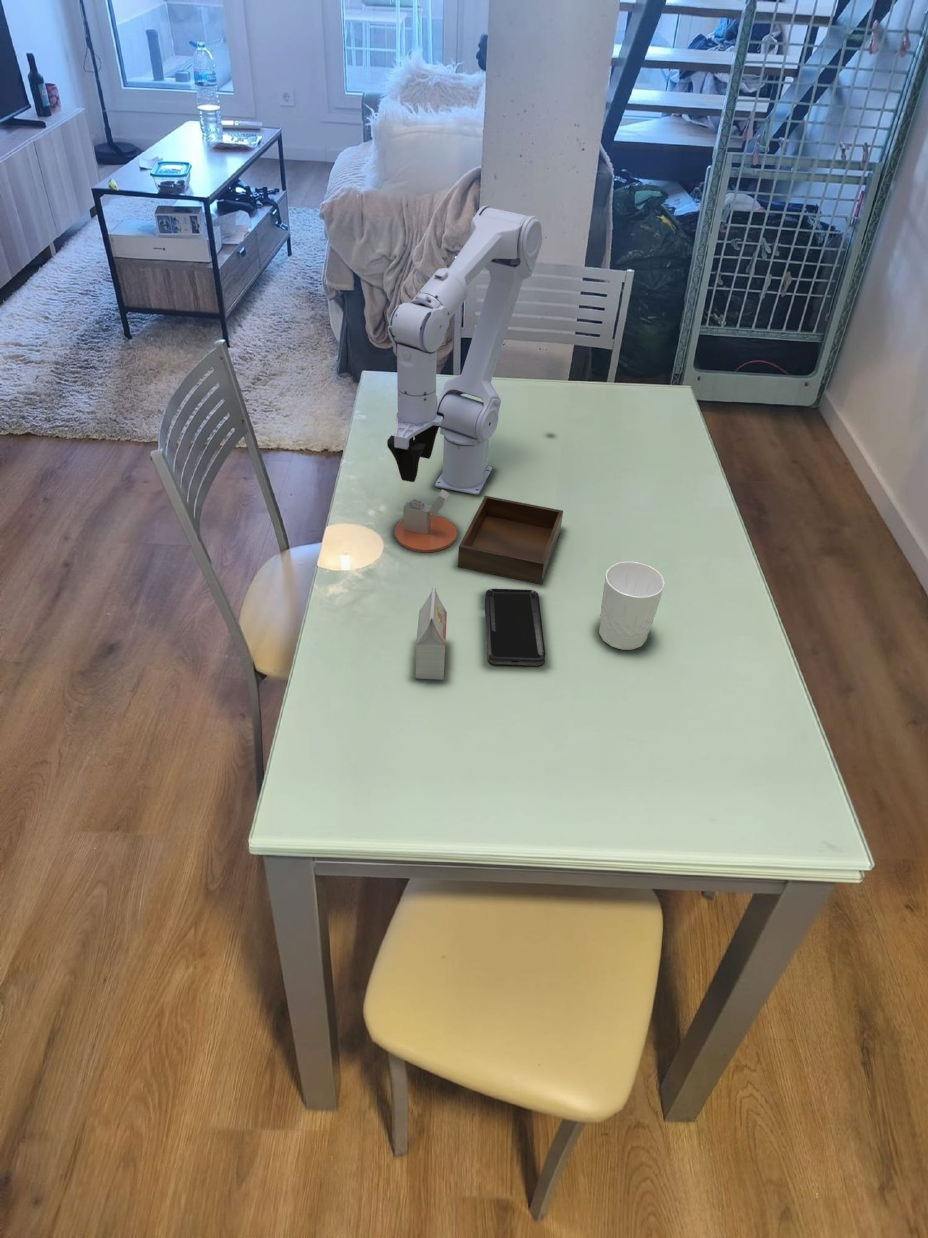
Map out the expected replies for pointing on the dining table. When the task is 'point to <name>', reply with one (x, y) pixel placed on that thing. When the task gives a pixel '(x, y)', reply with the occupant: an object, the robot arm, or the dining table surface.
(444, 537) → the coaster
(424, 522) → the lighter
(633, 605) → the white cup
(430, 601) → the milk carton
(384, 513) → the dining table surface
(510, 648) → the phone
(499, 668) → the dining table surface
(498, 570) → the tray
